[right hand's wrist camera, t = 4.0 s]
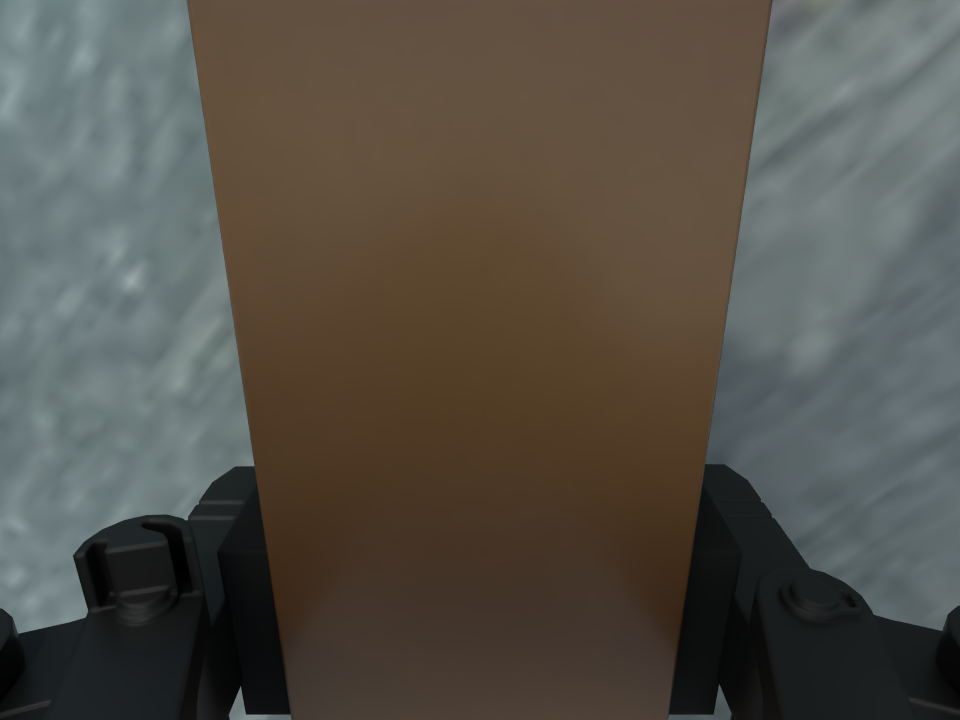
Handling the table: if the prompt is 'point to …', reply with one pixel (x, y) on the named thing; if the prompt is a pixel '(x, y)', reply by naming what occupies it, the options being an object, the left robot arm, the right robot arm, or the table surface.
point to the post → (479, 333)
